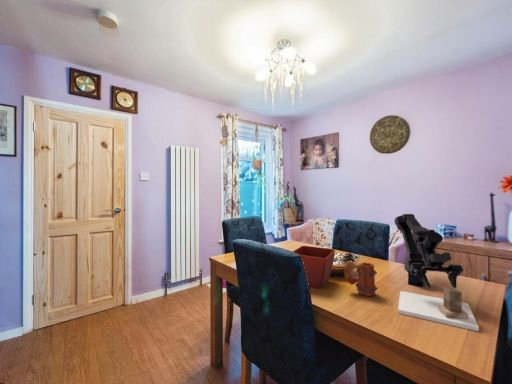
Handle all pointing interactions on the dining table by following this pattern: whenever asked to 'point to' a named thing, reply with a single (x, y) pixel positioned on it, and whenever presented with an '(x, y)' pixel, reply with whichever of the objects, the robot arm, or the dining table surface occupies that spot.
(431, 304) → the board
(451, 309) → the brown pedestal block
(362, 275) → the mug
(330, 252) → the plant pot
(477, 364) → the dining table surface
